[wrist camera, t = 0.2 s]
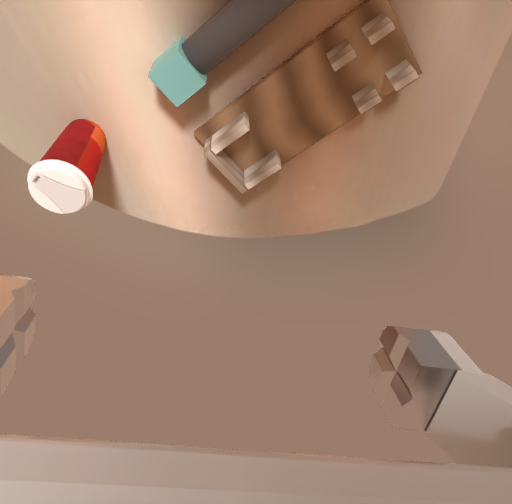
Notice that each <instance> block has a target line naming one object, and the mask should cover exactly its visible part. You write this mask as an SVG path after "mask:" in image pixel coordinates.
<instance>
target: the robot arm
mask: <svg viewBox="0 0 512 504" xmlns="http://www.w3.org/2000/svg"><path fill="white" fill-rule="evenodd" d="M35 298H36V284H35V281H34V279H31V278H25V277H18V276H11V275H4V274H0V396H2V394H3V392H4V391H5V389H6V388H7V386H8V384H9V383H10V381H11V379H12V378H13V376H14V374H15V372H16V369H15V368H16V366H15V363H16V362H17V361H19V360H21V359H23V358H25V356H26V354H27V352H28V350H29V349H30V346H31V343H32V340H33V337H34V331H35V324H36V315H35V313H34V312H33V311H32V310H31V308H30V305H31V304H32V302H33V301H34V299H35ZM379 340H380V343H381V346H382V348H381V349H380V350H378V351H377V352H376V353H374V354H373V356H372V359H371V362H370V365H369V380H370V384H371V387H372V389H373V391H374V393H376V394H377V395H378V396H380V397H381V398H382V399H383V402H382V405H381V407H382V409H383V411H384V413H385V415H386V417H387V419H388V421H389V423H390V425H391V427H392V428H395V429H405V430H413V431H422V432H426V433H425V434H426V435H427V436H428V437H430V439H432V440H433V441H434V442H435V443H436V444H437V445H438V446H439V447H440V448H441V449H442V450H443V451H444V452H445V453H446V454H447V455H448V456H449V457H450V458H452V460H454V461H455V462H456V463H457V464H447V463H432V462H415V461H401V460H386V459H371V458H354V457H341V456H326V455H311V454H296V453H281V452H266V451H251V450H236V449H221V448H206V447H191V446H176V445H161V444H146V443H131V442H116V441H115V442H114V441H100V440H85V439H70V438H55V437H40V436H26V435H10V434H0V504H512V387H510V386H508V385H507V384H505V383H503V382H502V381H500V380H498V379H496V378H495V377H493V376H491V375H490V374H485V373H482V372H481V370H480V369H479V368H478V367H477V366H476V365H475V364H474V362H473V361H472V360H471V359H470V358H469V357H468V355H467V354H466V353H465V352H464V351H463V350H462V349H461V348H460V346H459V345H458V344H457V343H456V342H455V341H454V339H453V338H452V337H451V336H450V335H449V334H448V333H445V332H443V331H433V330H423V329H412V328H403V327H393V326H387V327H386V328H385V329H384V330H383V332H382V334H381V337H380V339H379Z"/></svg>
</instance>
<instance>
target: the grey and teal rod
mask: <svg viewBox="0 0 512 504" xmlns="http://www.w3.org/2000/svg"><path fill="white" fill-rule="evenodd" d="M294 1H295V0H231V1H230V2H229V3H228V4H226V5H225V6H224V7H223V8H222V9H221V10H220V11H219V12H217V13H216V14H215V15H214V16H213V17H212V18H211V19H210V20H208V21H207V22H206V23H205V24H204V25H203V26H202V27H201V28H199V29H198V30H197V31H196V32H195V33H194V34H193V35H192V36H190V37H189V38H188V39H187V40H186V41H185V40H184V39H183V38H182V37H181V38H180V39H179V40H178V41H176V42H175V43H174V44H173V45H172V46H171V47H170V48H169V49H168V50H166V51H165V52H164V53H163V54H162V55H161V56H160V57H159V58H158V59H156V60H155V61H154V62H153V65H152V67H151V70H150V73H149V75H148V77H149V78H150V79H151V80H152V82H153V83H154V84H155V85H156V86H157V87H158V88H159V89H160V90H161V91H162V92H163V93H164V94H165V96H166V97H167V98H168V99H169V100H170V101H171V102H172V103H173V104H174V105H175V106H176V107H178V106H180V105H181V104H182V103H183V102H184V101H186V100H187V99H188V98H189V97H191V96H192V95H193V94H194V93H196V92H197V91H198V90H199V89H201V88H202V87H203V86H204V85H205V84H206V81H207V73H208V72H209V71H210V70H211V69H213V68H214V67H215V66H216V65H217V64H219V63H220V62H221V61H222V60H223V59H225V58H226V57H227V56H228V55H230V54H231V53H232V52H233V51H234V50H236V49H237V48H238V47H239V46H240V45H242V44H243V43H244V42H245V41H247V40H248V39H249V38H250V37H251V36H253V35H254V34H255V33H256V32H257V31H259V30H260V29H261V28H262V27H264V26H265V25H266V24H267V23H268V22H270V21H271V20H272V19H273V18H274V17H276V16H277V15H278V14H279V13H281V12H282V11H283V10H284V9H285V8H287V7H288V6H289V5H290V4H291V3H293V2H294Z"/></svg>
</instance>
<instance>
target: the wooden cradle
mask: <svg viewBox="0 0 512 504" xmlns="http://www.w3.org/2000/svg"><path fill="white" fill-rule="evenodd" d="M421 73H422V71H421V69H420V67H419V65H418V63H417V61H416V59H415V56H414V54H413V52H412V50H411V48H410V46H409V44H408V42H407V39H406V37H405V35H404V33H403V31H402V29H401V27H400V25H399V22H398V20H397V18H396V16H395V14H394V12H393V10H392V7H391V5H390V3H389V1H388V0H366V1H364V2H363V3H362V4H360V5H359V6H358V7H356V8H355V9H354V10H353V11H351V12H350V13H349V14H347V15H346V16H345V17H343V18H342V19H341V20H339V21H338V22H337V23H336V24H334V25H333V26H332V27H330V28H329V29H328V30H326V31H325V32H324V33H322V34H321V35H320V36H318V37H317V38H316V39H315V40H313V41H312V42H311V43H309V44H308V45H307V46H305V47H304V48H303V49H301V50H300V51H299V52H298V53H296V54H295V55H294V56H292V57H291V58H290V59H288V60H287V61H286V62H284V63H283V64H282V65H281V66H279V67H278V68H277V69H275V70H274V71H273V72H271V73H270V74H269V75H267V76H266V77H265V78H264V79H262V80H261V81H260V82H258V83H257V84H256V85H254V86H253V87H252V88H250V89H249V90H248V91H247V92H245V93H244V94H243V95H241V96H240V97H239V98H237V99H236V100H235V101H233V102H232V103H231V104H230V105H228V106H227V107H226V108H224V109H223V110H222V111H220V112H219V113H218V114H216V115H215V116H214V117H212V118H211V119H210V120H209V121H207V122H206V123H205V124H203V125H202V126H201V127H199V128H198V129H197V130H195V131H194V135H195V136H196V137H197V138H198V140H199V141H200V142H201V143H202V144H203V145H204V146H205V149H204V155H205V156H206V157H207V158H208V159H209V160H210V161H211V162H212V164H213V165H214V166H215V167H216V168H217V169H218V170H219V171H220V172H221V173H222V174H223V175H224V176H225V177H226V178H227V179H228V180H229V181H230V182H231V183H232V184H233V185H234V186H235V187H236V188H237V189H238V190H239V192H240V193H241V194H243V193H244V192H246V191H247V188H248V189H251V188H252V187H254V186H255V185H257V184H258V183H260V182H261V181H263V180H264V179H266V178H267V177H269V176H271V175H272V174H274V173H275V172H277V171H278V170H280V169H281V164H283V163H285V162H286V161H288V160H289V159H291V158H292V157H294V156H295V155H297V154H298V153H300V152H301V151H303V150H304V149H306V148H308V147H309V146H311V145H312V144H314V143H315V142H317V141H318V140H320V139H321V138H323V137H324V136H326V135H327V134H329V133H331V132H332V131H334V130H335V129H337V128H338V127H340V126H341V125H343V124H344V123H346V122H347V121H349V120H350V119H352V118H354V117H355V116H357V115H358V114H360V113H361V114H363V113H364V112H366V111H367V110H369V109H370V108H372V107H373V106H375V105H377V104H378V103H380V102H381V101H382V100H381V99H383V98H384V97H386V96H387V95H389V94H390V93H392V92H393V91H395V90H396V92H397V91H398V90H400V89H401V88H403V87H404V86H406V85H407V84H409V83H410V82H412V81H413V80H415V79H417V78H418V75H419V74H421Z"/></svg>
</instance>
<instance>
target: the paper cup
mask: <svg viewBox="0 0 512 504" xmlns="http://www.w3.org/2000/svg"><path fill="white" fill-rule="evenodd" d="M105 143H106V138H105V134H104V132H103V131H102V129H101V128H100V127H99V126H98V125H97V124H95V123H94V122H92V121H89V120H85V119H78V120H75V121H73V122H71V123H70V124H69V125H68V126H67V127H66V128H65V130H64V131H63V132H62V133H61V135H60V136H59V137H58V138H57V140H56V141H55V142H54V143H53V145H52V146H51V147H50V149H49V150H48V151H47V152H46V154H45V155H44V156H43V158H42V159H41V160H40V161H39V162H37V163H36V164H34V165H33V166H32V167H31V169H30V170H29V173H28V178H27V179H28V188H29V191H30V194H31V196H32V197H33V198H34V200H35V201H36V202H37V203H38V204H39V205H41V206H42V207H44V208H46V209H48V210H50V211H52V212H56V213H61V214H65V213H72V212H75V211H78V210H81V209H83V208H84V207H87V206H88V205H89V204H90V203H91V201H92V199H93V189H92V187H93V184H94V181H95V178H96V174H97V171H98V168H99V165H100V162H101V158H102V155H103V152H104V148H105Z"/></svg>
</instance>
